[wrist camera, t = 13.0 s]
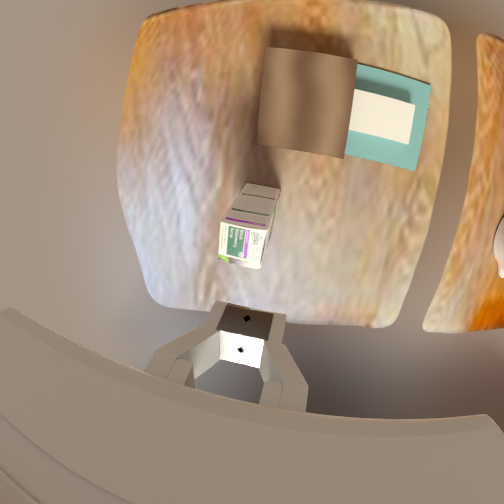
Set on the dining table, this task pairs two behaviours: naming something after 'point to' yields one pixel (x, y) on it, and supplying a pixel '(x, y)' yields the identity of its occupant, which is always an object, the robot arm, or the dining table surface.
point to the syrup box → (248, 226)
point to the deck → (306, 101)
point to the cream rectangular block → (381, 116)
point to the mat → (399, 90)
